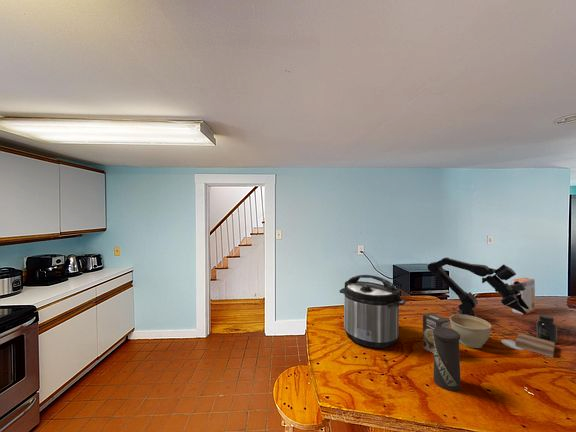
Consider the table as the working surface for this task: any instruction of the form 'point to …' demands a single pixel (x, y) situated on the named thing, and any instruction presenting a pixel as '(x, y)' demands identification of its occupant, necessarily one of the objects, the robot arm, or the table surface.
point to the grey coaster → (511, 344)
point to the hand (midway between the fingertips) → (527, 311)
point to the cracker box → (527, 294)
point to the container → (446, 358)
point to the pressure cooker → (371, 311)
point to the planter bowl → (471, 330)
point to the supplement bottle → (546, 328)
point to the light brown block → (535, 344)
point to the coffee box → (428, 325)
